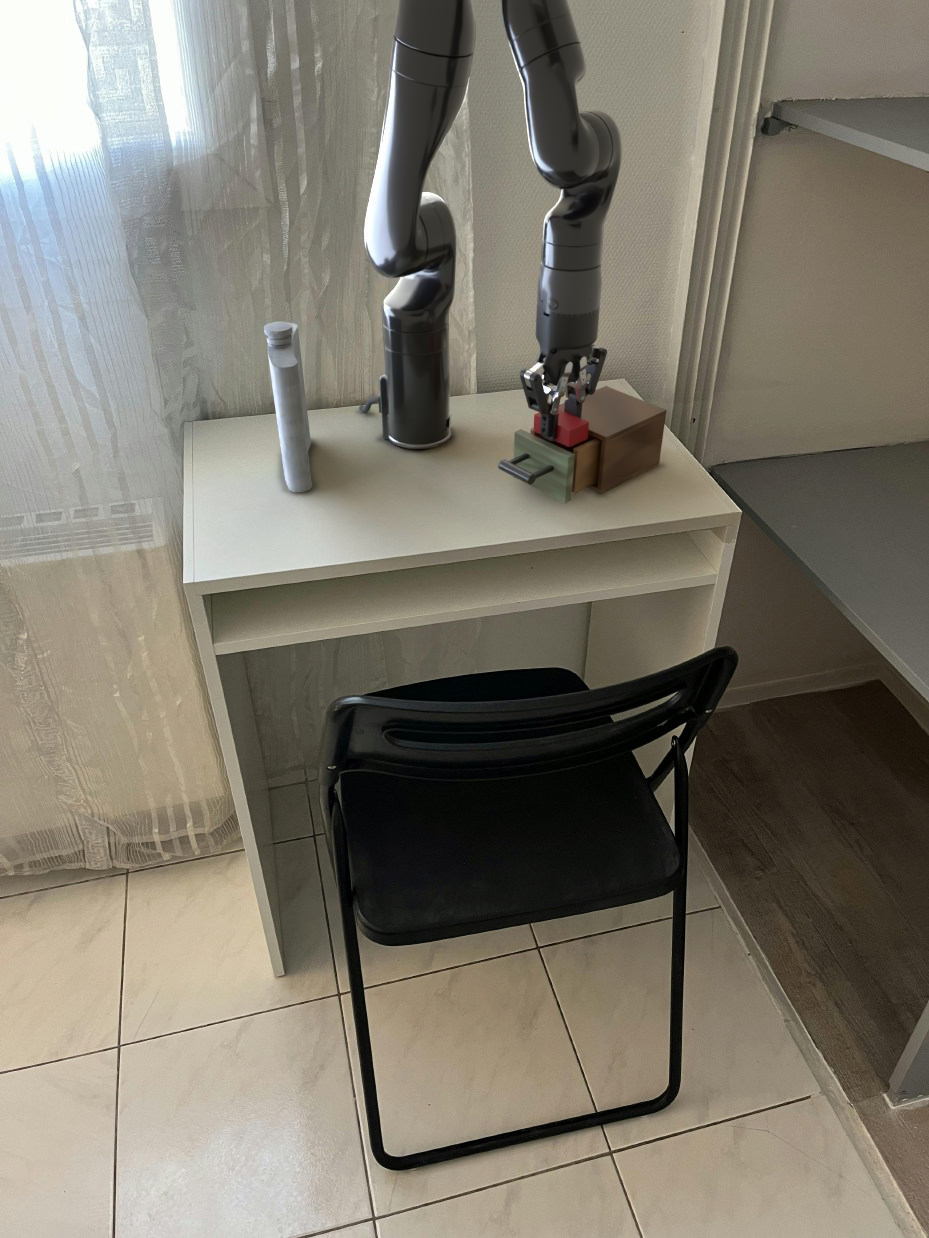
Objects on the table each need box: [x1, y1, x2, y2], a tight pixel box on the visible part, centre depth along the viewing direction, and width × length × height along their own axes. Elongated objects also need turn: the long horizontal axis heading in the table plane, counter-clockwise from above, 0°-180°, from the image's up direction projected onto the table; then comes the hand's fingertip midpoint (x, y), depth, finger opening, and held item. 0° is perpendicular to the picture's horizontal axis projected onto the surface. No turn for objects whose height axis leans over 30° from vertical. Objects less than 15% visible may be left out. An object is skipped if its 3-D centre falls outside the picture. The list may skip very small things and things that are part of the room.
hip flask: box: [263, 321, 313, 493], centre depth 126 cm, size 16×4×20 cm, turn 8°
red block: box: [533, 409, 589, 447], centre depth 121 cm, size 6×4×2 cm, turn 42°
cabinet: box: [559, 385, 667, 495], centre depth 129 cm, size 12×11×8 cm
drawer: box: [498, 427, 602, 504], centre depth 124 cm, size 16×10×7 cm, turn 132°
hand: (560, 432), depth 122 cm, fingers closed on red block, 3 cm apart
